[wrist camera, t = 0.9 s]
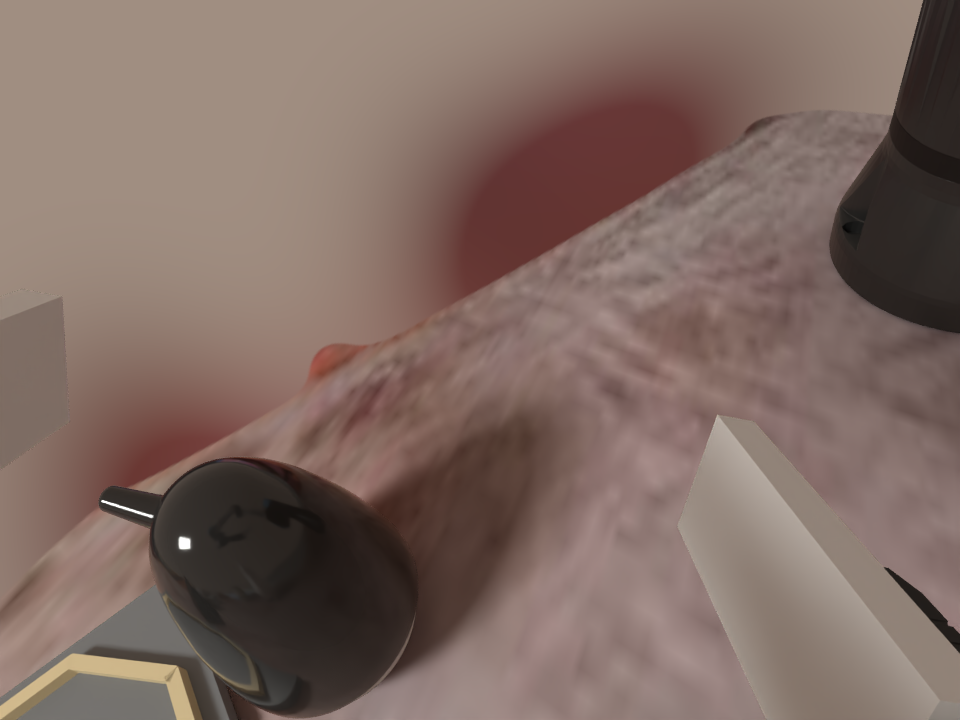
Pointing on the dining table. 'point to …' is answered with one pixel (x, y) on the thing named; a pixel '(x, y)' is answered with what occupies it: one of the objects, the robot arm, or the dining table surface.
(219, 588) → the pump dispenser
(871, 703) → the robot arm
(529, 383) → the dining table surface
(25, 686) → the dock plate
